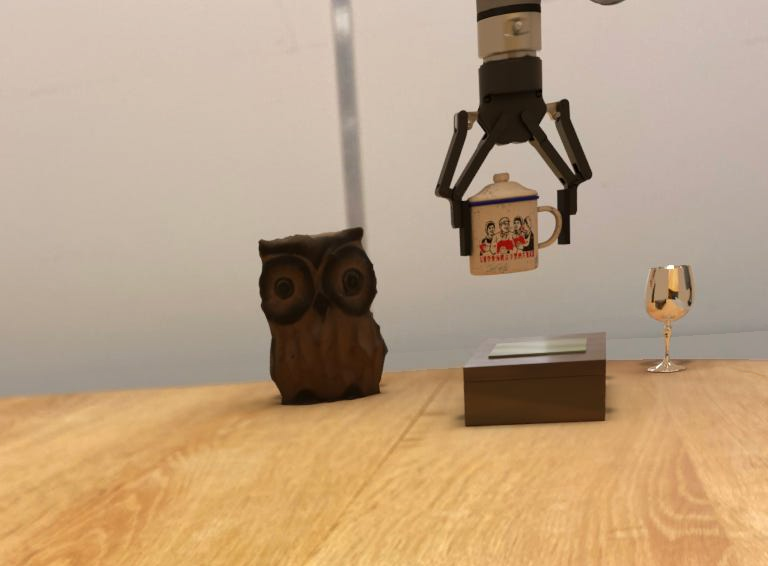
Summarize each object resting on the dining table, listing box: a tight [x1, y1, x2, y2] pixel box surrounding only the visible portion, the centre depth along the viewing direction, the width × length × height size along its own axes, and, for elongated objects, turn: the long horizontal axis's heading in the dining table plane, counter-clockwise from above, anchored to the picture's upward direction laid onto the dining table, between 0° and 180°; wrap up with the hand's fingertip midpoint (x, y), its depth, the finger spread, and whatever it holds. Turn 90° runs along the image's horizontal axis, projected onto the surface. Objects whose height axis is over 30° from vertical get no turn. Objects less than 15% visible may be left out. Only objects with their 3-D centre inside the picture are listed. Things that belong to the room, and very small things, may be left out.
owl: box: [257, 226, 389, 406], centre depth 132 cm, size 13×13×20 cm
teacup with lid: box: [466, 172, 562, 277], centre depth 134 cm, size 12×9×12 cm
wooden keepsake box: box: [462, 331, 607, 427], centre depth 117 cm, size 22×14×6 cm, turn 165°
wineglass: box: [643, 264, 696, 373], centre depth 129 cm, size 6×6×12 cm
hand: (514, 250), depth 135 cm, fingers closed on teacup with lid, 12 cm apart
